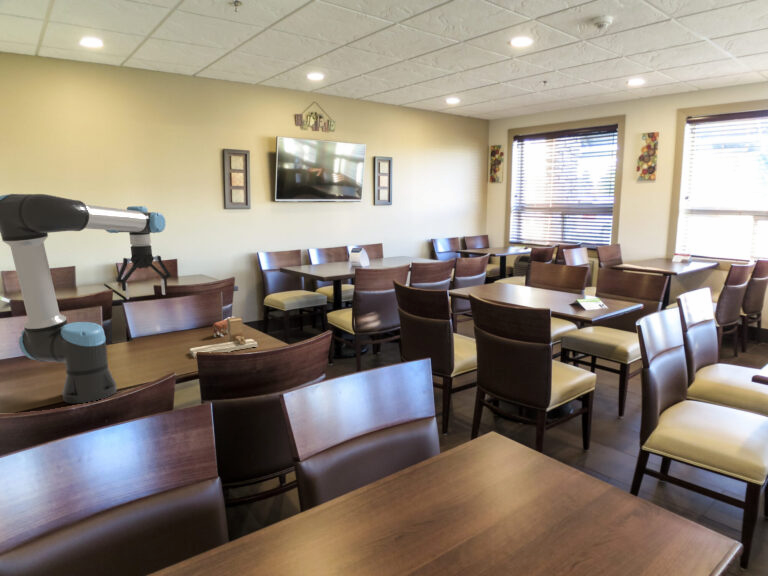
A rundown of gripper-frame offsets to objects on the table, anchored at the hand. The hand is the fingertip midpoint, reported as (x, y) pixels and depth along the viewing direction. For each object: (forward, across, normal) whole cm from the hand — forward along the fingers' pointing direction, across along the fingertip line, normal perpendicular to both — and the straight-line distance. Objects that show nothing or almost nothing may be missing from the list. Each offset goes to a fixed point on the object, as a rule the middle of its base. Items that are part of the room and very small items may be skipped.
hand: (146, 296), depth 204 cm
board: (+23, -25, +17) cm, 38 cm away
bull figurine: (+24, -33, -6) cm, 41 cm away
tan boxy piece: (+23, -32, +14) cm, 42 cm away
